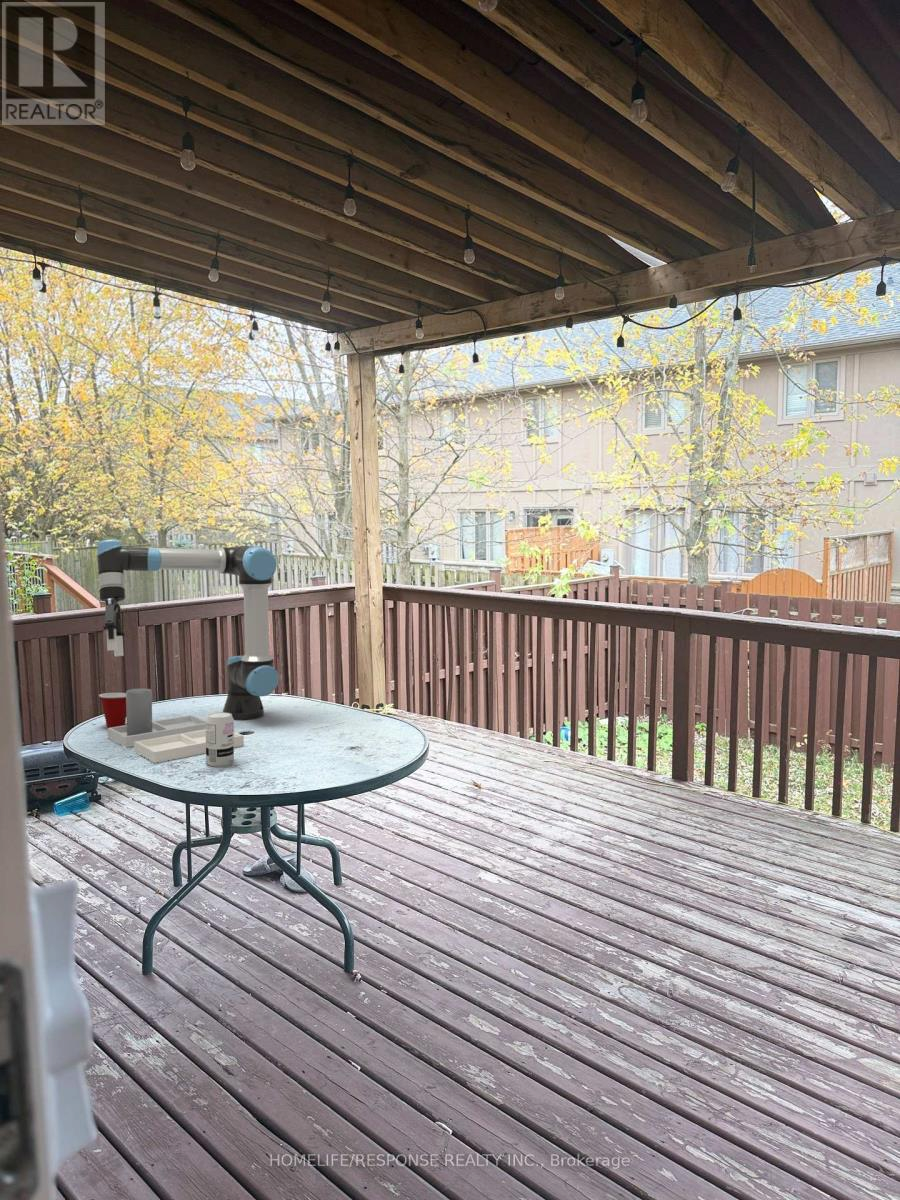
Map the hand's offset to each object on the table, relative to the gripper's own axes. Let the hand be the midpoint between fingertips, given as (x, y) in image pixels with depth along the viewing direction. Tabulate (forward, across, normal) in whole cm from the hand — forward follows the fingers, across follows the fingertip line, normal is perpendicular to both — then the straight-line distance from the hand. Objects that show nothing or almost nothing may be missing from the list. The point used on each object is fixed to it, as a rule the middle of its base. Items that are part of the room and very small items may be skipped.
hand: (115, 653), depth 252 cm
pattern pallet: (+26, -24, +10) cm, 37 cm away
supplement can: (+39, +11, +29) cm, 50 cm away
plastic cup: (+21, -38, -6) cm, 44 cm away
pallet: (+33, -5, +20) cm, 39 cm away
